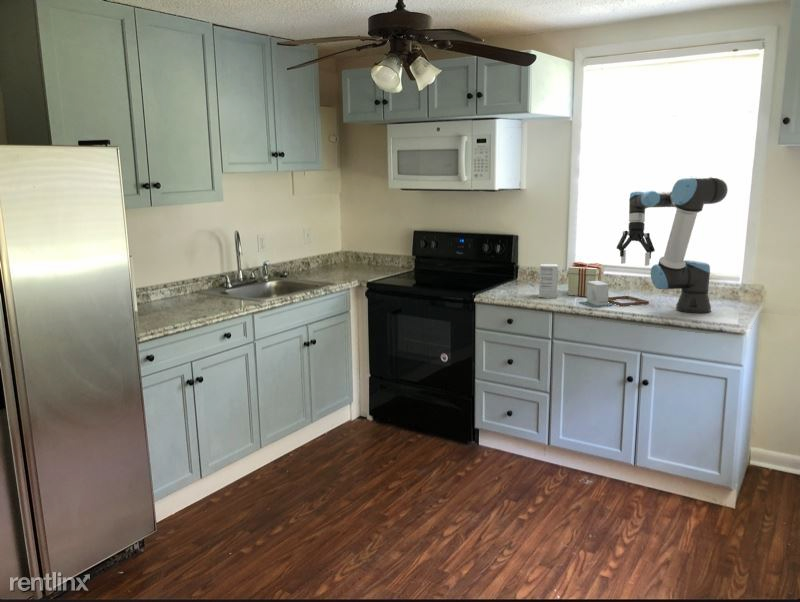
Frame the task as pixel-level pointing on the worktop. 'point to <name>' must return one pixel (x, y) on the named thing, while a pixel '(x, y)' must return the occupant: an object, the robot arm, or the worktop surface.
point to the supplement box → (548, 280)
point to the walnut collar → (640, 301)
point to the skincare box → (597, 292)
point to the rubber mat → (595, 305)
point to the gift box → (583, 277)
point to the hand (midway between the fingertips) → (635, 264)
